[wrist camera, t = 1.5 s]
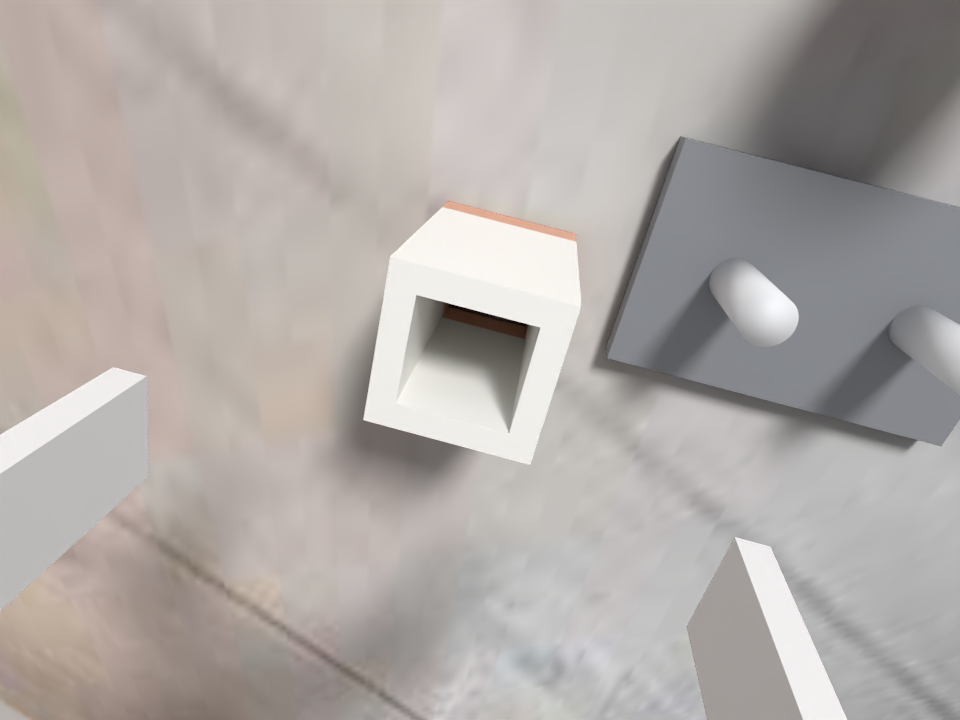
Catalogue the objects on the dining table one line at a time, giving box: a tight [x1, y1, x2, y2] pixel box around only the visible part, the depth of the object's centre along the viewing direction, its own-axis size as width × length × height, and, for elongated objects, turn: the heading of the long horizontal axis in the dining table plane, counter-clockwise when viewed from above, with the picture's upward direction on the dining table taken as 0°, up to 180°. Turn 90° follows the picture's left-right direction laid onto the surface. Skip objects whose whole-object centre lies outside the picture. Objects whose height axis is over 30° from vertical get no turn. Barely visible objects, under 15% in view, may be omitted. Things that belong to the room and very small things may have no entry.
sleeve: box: [363, 201, 581, 465], centre depth 24 cm, size 6×6×10 cm
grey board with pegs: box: [606, 137, 960, 446], centre depth 24 cm, size 16×10×6 cm, turn 77°
